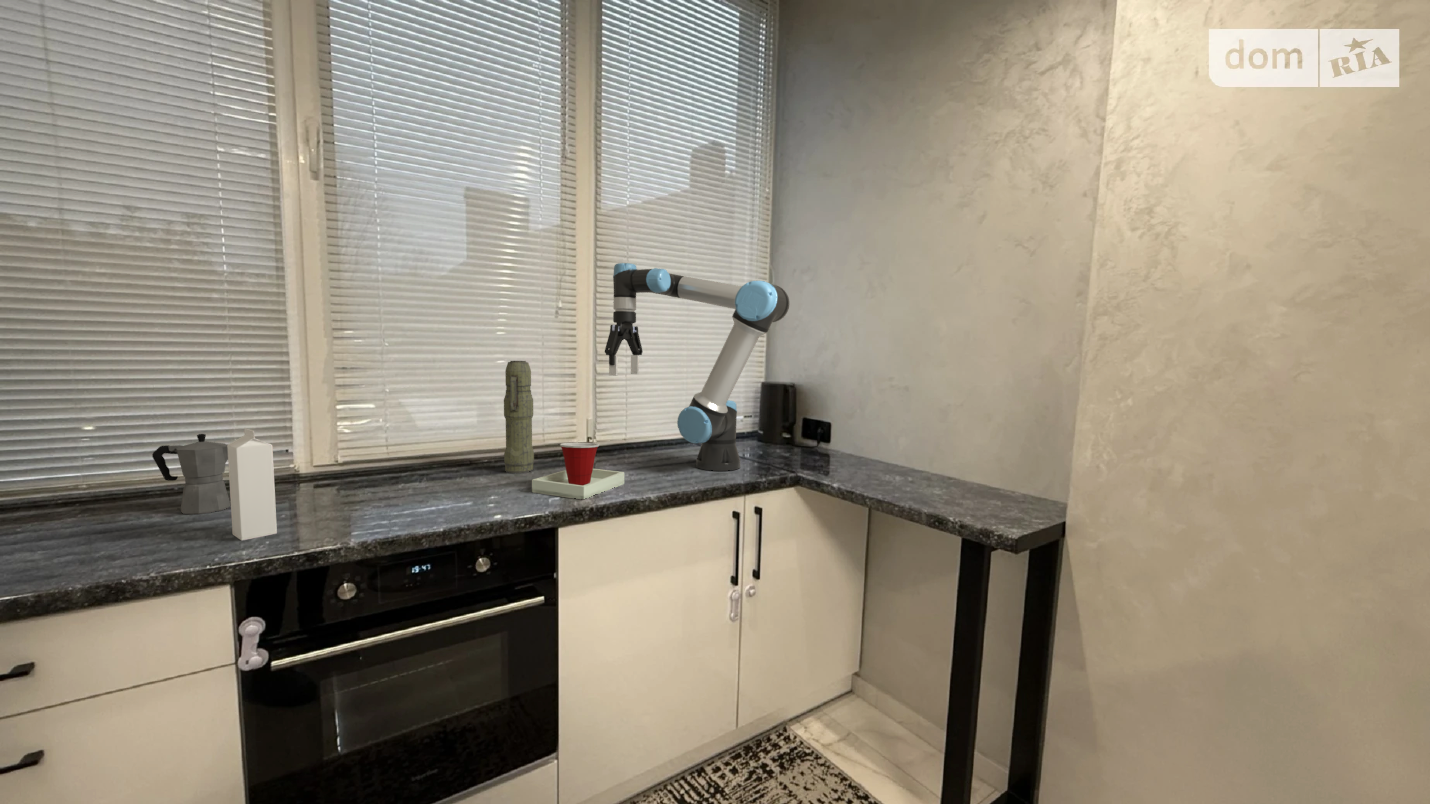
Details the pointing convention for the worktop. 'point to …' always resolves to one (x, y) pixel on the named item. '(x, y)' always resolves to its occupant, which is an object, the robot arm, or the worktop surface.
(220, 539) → the worktop surface
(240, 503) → the milk
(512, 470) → the thermos
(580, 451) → the plastic cup
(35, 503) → the worktop surface
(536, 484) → the tray
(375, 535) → the worktop surface
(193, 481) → the coffeepot
